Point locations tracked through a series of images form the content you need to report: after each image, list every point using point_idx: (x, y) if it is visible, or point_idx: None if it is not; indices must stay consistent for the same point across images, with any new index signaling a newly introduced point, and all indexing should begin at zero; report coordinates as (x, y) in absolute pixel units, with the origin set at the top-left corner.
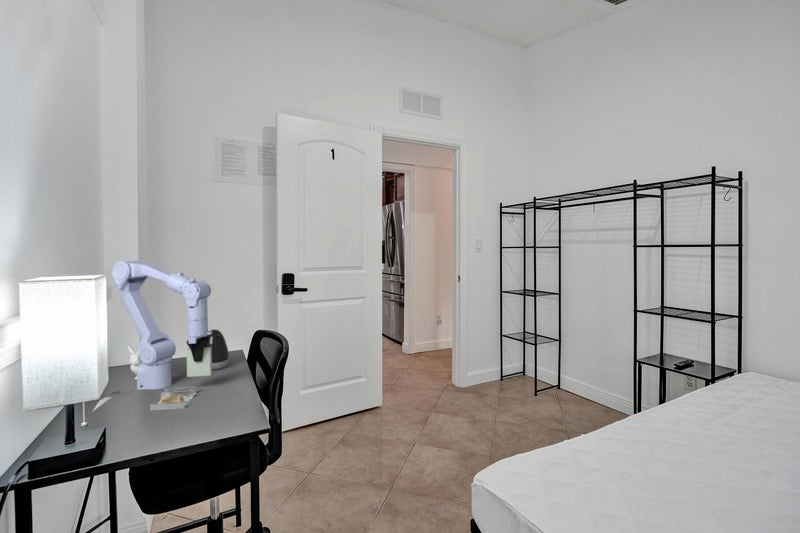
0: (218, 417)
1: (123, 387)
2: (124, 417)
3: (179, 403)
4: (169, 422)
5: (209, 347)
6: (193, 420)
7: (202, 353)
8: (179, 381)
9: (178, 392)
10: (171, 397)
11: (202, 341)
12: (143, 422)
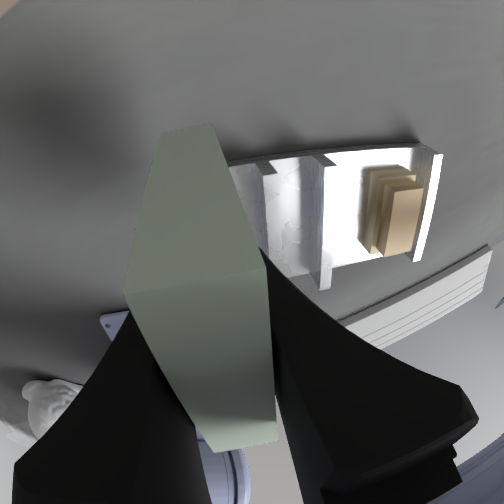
0: (478, 24)
1: None
2: (401, 290)
3: (439, 171)
4: (475, 160)
5: (183, 305)
6: (482, 95)
7: (297, 294)
8: (74, 313)
9: (333, 226)
10: (414, 219)
11: (449, 442)
12: (450, 228)
